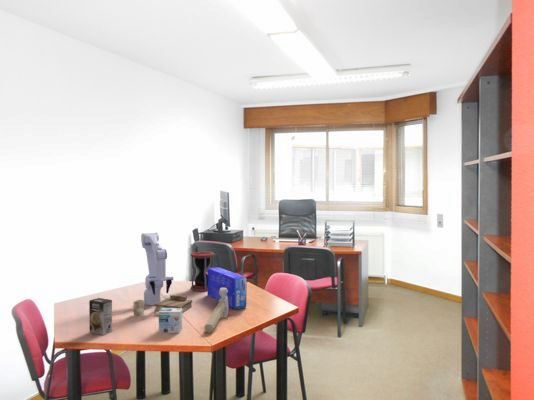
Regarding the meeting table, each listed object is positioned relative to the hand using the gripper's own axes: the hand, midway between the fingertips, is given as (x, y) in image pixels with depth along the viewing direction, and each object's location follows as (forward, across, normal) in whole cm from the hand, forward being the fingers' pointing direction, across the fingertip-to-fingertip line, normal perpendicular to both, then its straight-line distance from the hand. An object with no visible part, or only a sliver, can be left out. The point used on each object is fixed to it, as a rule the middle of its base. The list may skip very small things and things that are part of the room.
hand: (160, 293), depth 257 cm
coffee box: (+9, -35, -27) cm, 45 cm away
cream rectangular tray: (+9, +5, -5) cm, 12 cm away
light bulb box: (+9, -3, -39) cm, 41 cm away
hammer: (+10, +22, -38) cm, 45 cm away
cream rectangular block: (+9, -13, -6) cm, 17 cm away
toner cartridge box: (+10, +41, +1) cm, 42 cm away
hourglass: (+10, +36, +38) cm, 54 cm away
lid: (+6, +7, -3) cm, 10 cm away
